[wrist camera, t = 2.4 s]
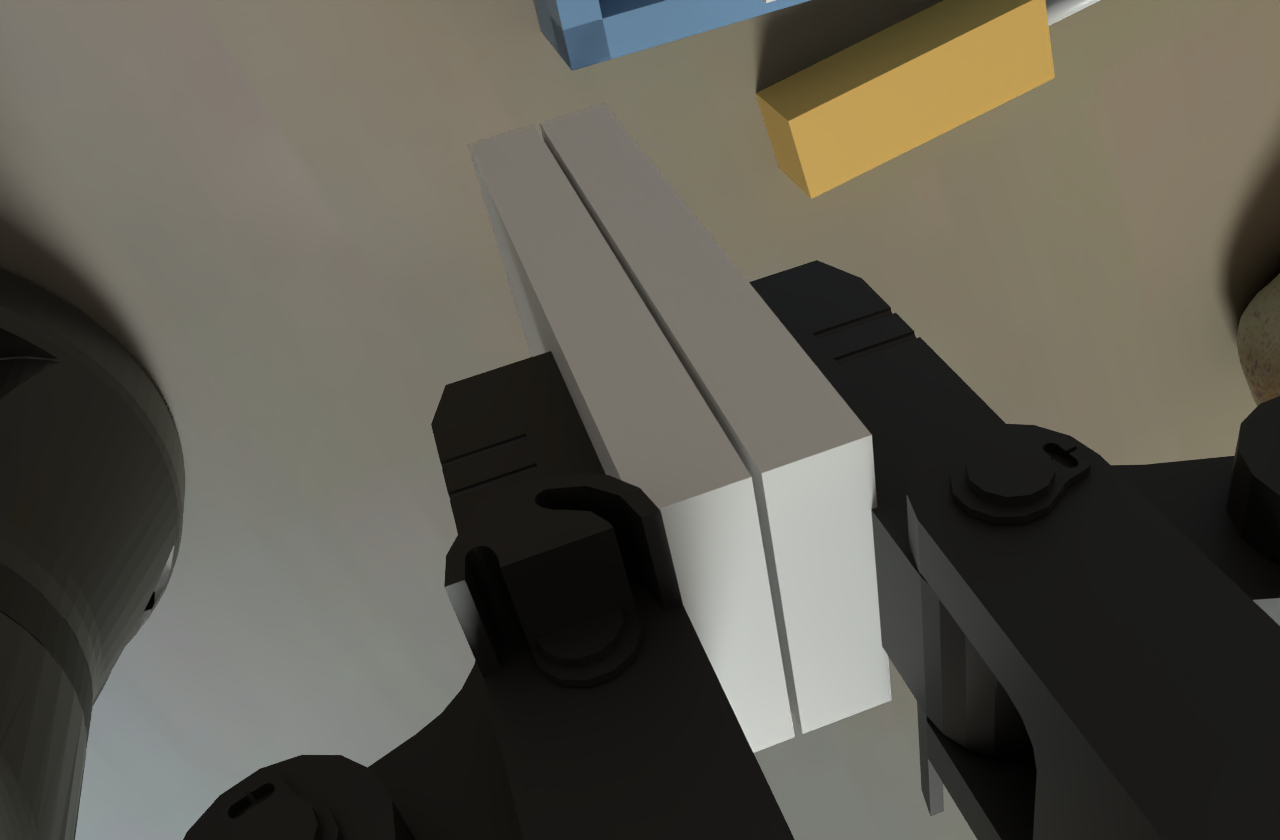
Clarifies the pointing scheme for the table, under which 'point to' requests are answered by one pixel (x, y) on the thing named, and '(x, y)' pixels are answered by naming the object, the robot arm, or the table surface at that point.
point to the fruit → (1261, 343)
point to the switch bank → (635, 23)
